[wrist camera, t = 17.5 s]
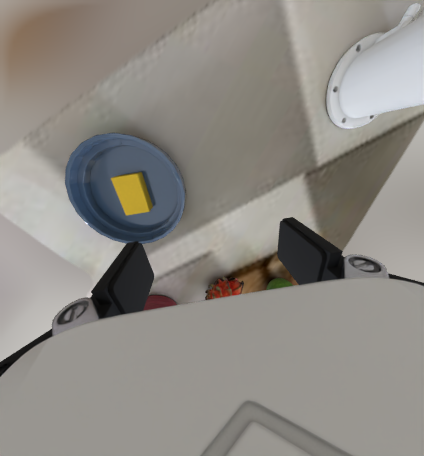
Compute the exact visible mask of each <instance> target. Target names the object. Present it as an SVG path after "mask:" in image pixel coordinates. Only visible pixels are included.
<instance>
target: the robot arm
mask: <svg viewBox="0 0 424 456" xmlns="http://www.w3.org/2000/svg"><path fill="white" fill-rule="evenodd" d="M420 7H421V4H419V3H414V4H412V5H411V6H410V7H409V8H408V9H407V11H406V12H405V14H404V16H403V17H402V19H401V22H400V23H399V25H398V26H396V27H395V28H393V29H392V30H390V31H388V32H387V33H382V32H381V33H374V34H371V35H369V36H366V37H365V38H363V39H362V40H360V41H358V42H357V43H356V44H354V45H353V46H352V47H351V48H350V49H349V50H348V51H347V52H346V53H345V54H344V55H343V57H342V58H341V59H340V61H339V62H338V64H337V66H336V68H335V69H334V71H333V74H332V76H331V79H330V82H329V85H328V89H327V97H326V101H327V110H328V114H329V116H330V119H331V120H332V121H333V123H334V124H336V125H337V126H338V127H341V128H344V129H352V128H357V127H361V126H363V125H366V124H368V123H369V122H371V121H372V120H374V119H375V118H376V117H377V116H378V115H379V114H380V113H385V112H389V111H394V110H399V109H404V108H408V107H413V106H418V105H422V104H424V8H423V9H422V11H421V12H420V14H419V16H418V17H417V19H416V20H415V21H413V22H411V21H412V20H413V19H414V17H415V16H416V14H417V12H418V11H419V9H420ZM342 252H343V251H341V250H340V249H338V248H337V247H335V246H334V245H333V244H331V243H330V242H328V241H327V240H325V239H324V238H322V237H321V236H319V235H318V234H317V233H315V232H314V231H312V230H311V229H309V228H308V227H306V226H305V225H303V224H302V223H300V222H299V221H298V220H296V219H295V218H293V217H291V218H285V219H283V220H282V221H281V222H280V229H279V241H278V253H277V254H278V258H279V260H280V261H281V262H282V263H283V265H284V266H285V267H286V269H287V270H288V271H289V273H290V274H291V275H292V276H293V278H294V279H295V280H296V282H297V283H298V284H299V285H296V286H290V287H283V288H277V289H271V290H265V291H258V292H252V293H246V294H240V295H234V296H228V297H222V298H216V299H210V300H204V301H198V302H192V303H186V304H180V305H174V306H169V307H163V308H157V309H151V310H145V311H143V310H144V307H145V304H146V301H147V298H148V295H149V292H150V289H151V286H152V283H153V280H154V273H153V271H152V268H151V266H150V263H149V261H148V258H147V255H146V253H145V250H144V248H143V245H142V243H139V242H138V241H135V242H128V243H127V244H126V246H125V247H124V248H123V250H122V251H121V252H120V254H119V255H118V256H117V258H116V259H115V260H114V262H113V263H112V264H111V266H110V267H109V268H108V270H107V271H106V272H105V274H104V275H103V276H102V278H101V279H100V280H99V282H98V283H97V284H96V286H95V287H94V288H93V290H92V291H91V293H92V294H93V295H92V296H91V298H81V299H78V300H76V301H74V302H72V303H70V304H69V305H67V306H65V308H63V309H62V310H61V311H60V312H59V313H58V314H57V315H56V316H55V318H54V319H53V322H52V329H51V330H49V331H48V332H46V333H45V334H43V335H41V336H40V337H38V338H37V339H35V340H34V341H32V342H31V343H29V344H28V345H26V346H25V347H23V348H21V349H20V350H18V351H17V352H16V353H14V354H12V355H11V356H9V357H7V358H6V359H4V360H3V361H1V362H0V456H424V283H422V282H418V281H415V280H411V279H407V278H403V277H399V276H396V275H392V274H388V272H387V269H386V268H385V266H384V265H383V264H382V263H380V262H378V261H377V260H375V259H373V258H370V257H367V256H363V255H348V256H346V257H343V256H342Z"/></svg>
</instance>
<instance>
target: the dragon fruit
mask: <svg viewBox="0 0 424 456" xmlns="http://www.w3.org/2000/svg"><path fill="white" fill-rule="evenodd" d="M222 279H223V280H224V282H222V281H221V279H217V281H216V282H215V284H214V285H213V284H210V285H209V286H211V287H212V290H206V292H205V293H207V296H206V297H205V298H206V300H210V299H216V298H222V297H228V296H234V295H240V294H241V293H242V288H243V284H244V282H243V281H242V282H239V281H238V279H237V278H229V279H230V280H232V279H235V280H234V281H228V279H227V278H226V277H225V276H224V277H223V278H222ZM240 281H241V280H240ZM217 282H219V283H218V284H217ZM216 284H217V285H216Z"/></svg>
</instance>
